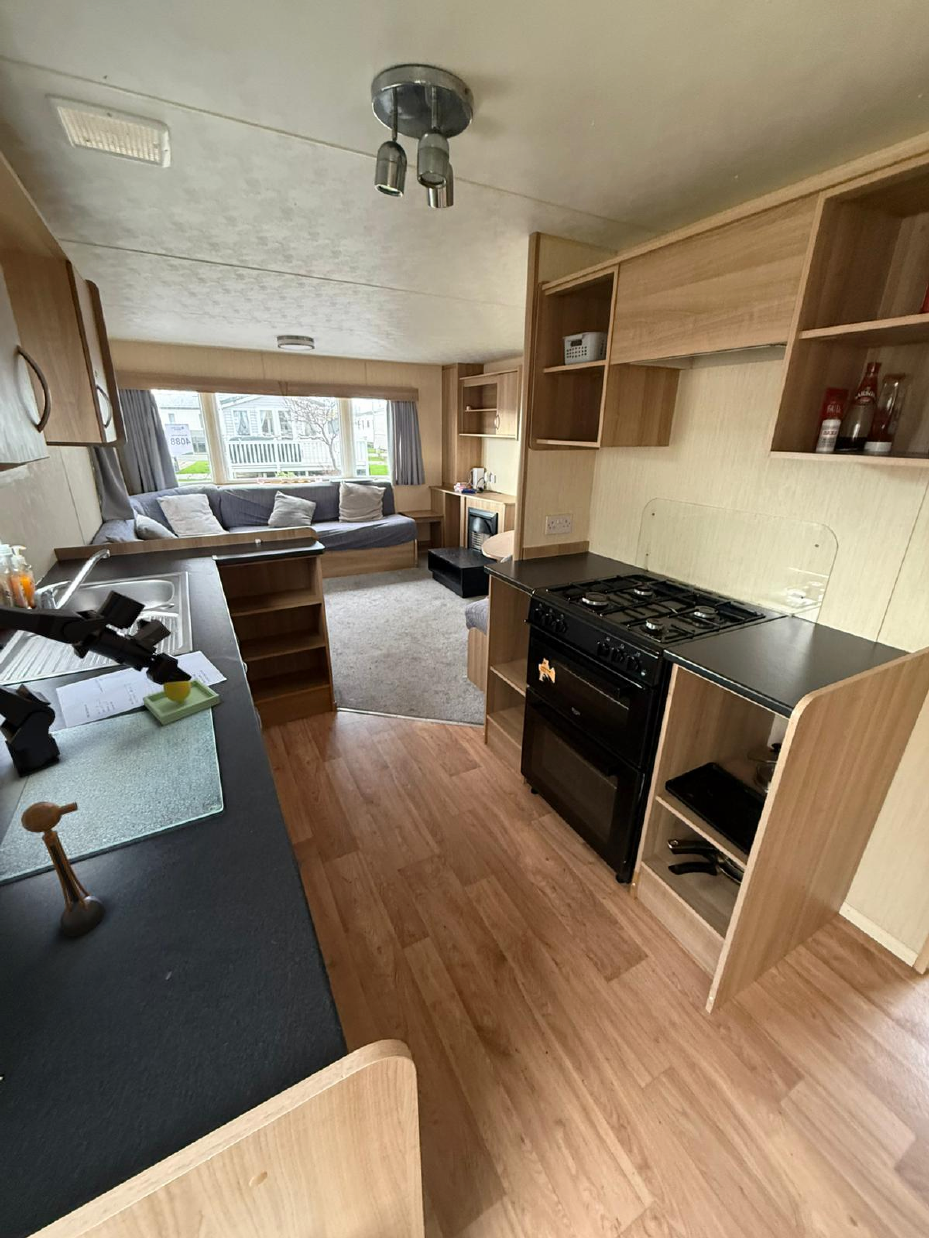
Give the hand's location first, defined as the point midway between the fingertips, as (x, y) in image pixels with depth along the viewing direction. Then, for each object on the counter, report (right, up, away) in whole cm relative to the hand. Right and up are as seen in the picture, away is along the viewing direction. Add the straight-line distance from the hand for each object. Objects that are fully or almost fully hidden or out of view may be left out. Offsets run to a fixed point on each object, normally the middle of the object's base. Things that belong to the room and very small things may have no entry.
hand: (181, 672), depth 118 cm
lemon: (-1, -7, +2) cm, 8 cm away
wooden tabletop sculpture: (+15, -29, -49) cm, 59 cm away
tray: (-1, -8, +2) cm, 8 cm away
